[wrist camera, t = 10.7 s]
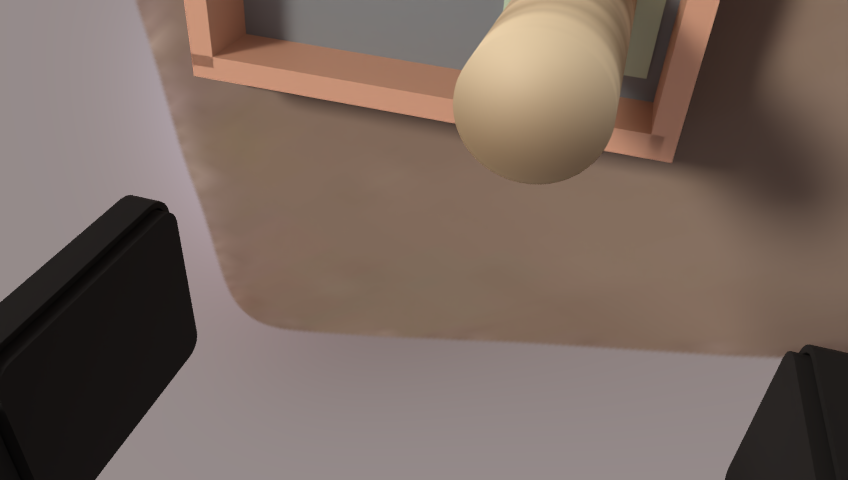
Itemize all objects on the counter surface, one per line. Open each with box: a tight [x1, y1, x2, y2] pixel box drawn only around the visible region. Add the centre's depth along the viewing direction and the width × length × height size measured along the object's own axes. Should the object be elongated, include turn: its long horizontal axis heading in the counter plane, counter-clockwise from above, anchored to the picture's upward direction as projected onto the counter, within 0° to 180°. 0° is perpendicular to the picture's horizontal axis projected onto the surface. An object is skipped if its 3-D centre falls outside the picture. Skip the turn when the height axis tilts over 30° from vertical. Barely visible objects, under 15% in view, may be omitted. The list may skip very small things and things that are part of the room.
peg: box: [453, 0, 637, 184], centre depth 23 cm, size 4×4×12 cm
